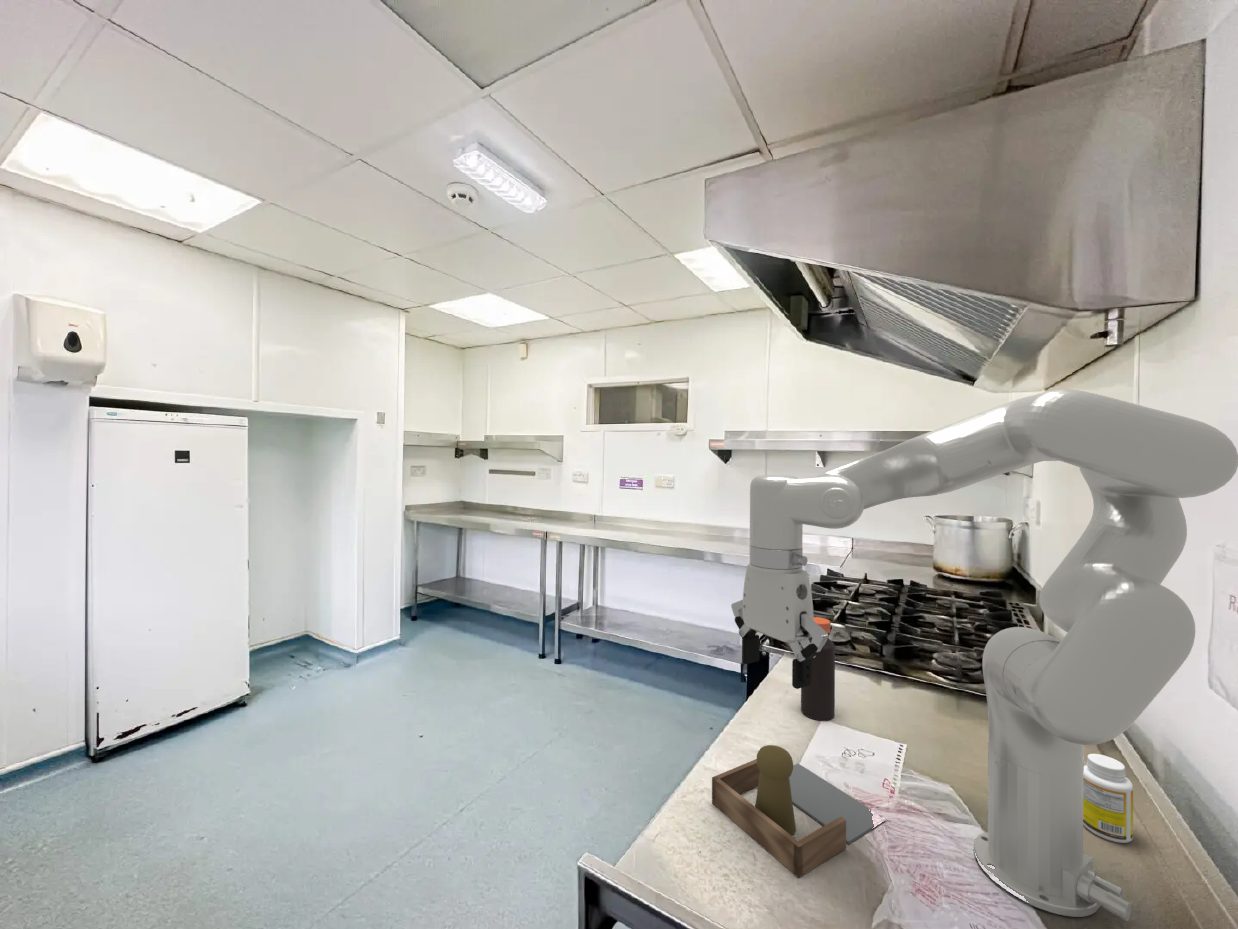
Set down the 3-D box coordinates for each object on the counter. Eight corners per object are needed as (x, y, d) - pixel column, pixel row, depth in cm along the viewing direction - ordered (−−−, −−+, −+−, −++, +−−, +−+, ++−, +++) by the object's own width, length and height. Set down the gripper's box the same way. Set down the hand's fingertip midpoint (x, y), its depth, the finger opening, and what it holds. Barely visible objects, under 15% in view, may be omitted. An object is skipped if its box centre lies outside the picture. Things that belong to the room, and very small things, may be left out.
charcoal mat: (885, 821, 75) (885, 818, 75) (848, 844, 70) (848, 841, 70) (798, 765, 88) (798, 763, 88) (762, 782, 84) (762, 779, 84)
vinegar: (836, 710, 108) (837, 618, 108) (832, 724, 102) (832, 627, 102) (803, 703, 112) (804, 613, 112) (797, 716, 106) (798, 622, 106)
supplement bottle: (1102, 816, 76) (1102, 749, 76) (1144, 844, 70) (1144, 771, 70) (1069, 818, 75) (1069, 751, 75) (1109, 847, 70) (1109, 773, 70)
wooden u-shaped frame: (846, 848, 69) (846, 819, 69) (798, 878, 64) (798, 847, 64) (756, 782, 83) (756, 759, 83) (711, 802, 78) (712, 777, 78)
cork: (790, 812, 76) (790, 740, 76) (800, 841, 70) (801, 764, 70) (750, 809, 77) (750, 738, 77) (757, 838, 71) (757, 761, 71)
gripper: (843, 566, 68) (842, 691, 68) (751, 547, 83) (750, 650, 83) (807, 572, 65) (806, 704, 65) (716, 551, 79) (716, 658, 79)
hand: (774, 673), depth 74 cm, fingers open, 9 cm apart
